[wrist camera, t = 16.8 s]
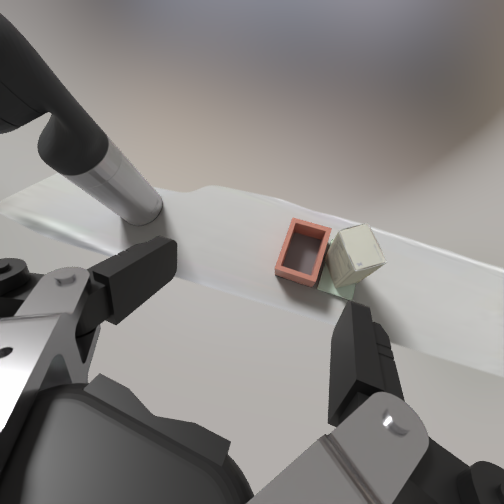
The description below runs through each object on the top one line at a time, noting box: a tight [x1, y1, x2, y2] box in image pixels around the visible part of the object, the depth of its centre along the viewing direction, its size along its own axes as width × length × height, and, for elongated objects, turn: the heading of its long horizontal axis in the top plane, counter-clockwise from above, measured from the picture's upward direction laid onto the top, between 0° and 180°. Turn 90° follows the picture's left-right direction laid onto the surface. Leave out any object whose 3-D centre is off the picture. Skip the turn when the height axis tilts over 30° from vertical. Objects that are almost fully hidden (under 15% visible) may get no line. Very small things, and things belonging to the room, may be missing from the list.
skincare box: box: [325, 223, 387, 288], centre depth 36 cm, size 6×4×12 cm
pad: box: [317, 239, 356, 301], centre depth 42 cm, size 6×10×1 cm, turn 159°
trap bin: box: [275, 218, 332, 287], centre depth 42 cm, size 7×10×5 cm
